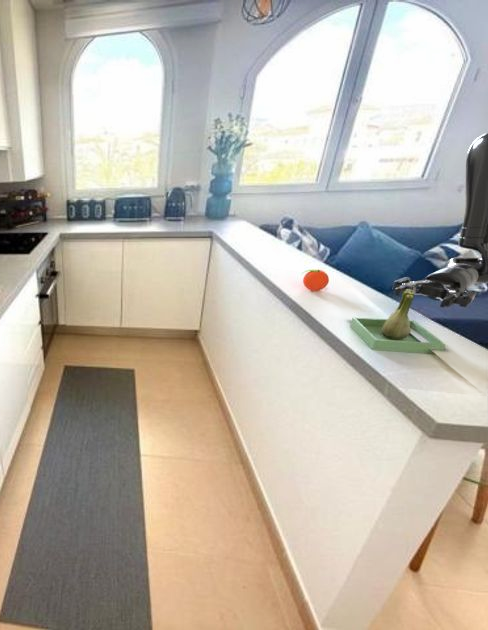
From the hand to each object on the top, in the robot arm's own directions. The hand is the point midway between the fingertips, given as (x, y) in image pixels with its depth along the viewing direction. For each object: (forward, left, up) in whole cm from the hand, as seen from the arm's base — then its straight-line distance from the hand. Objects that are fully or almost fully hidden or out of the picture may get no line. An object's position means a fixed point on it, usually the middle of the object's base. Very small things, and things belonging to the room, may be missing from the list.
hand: (419, 298), depth 84 cm
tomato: (+14, -27, -9) cm, 31 cm away
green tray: (+6, +5, -9) cm, 12 cm away
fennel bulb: (+5, +5, -9) cm, 11 cm away
